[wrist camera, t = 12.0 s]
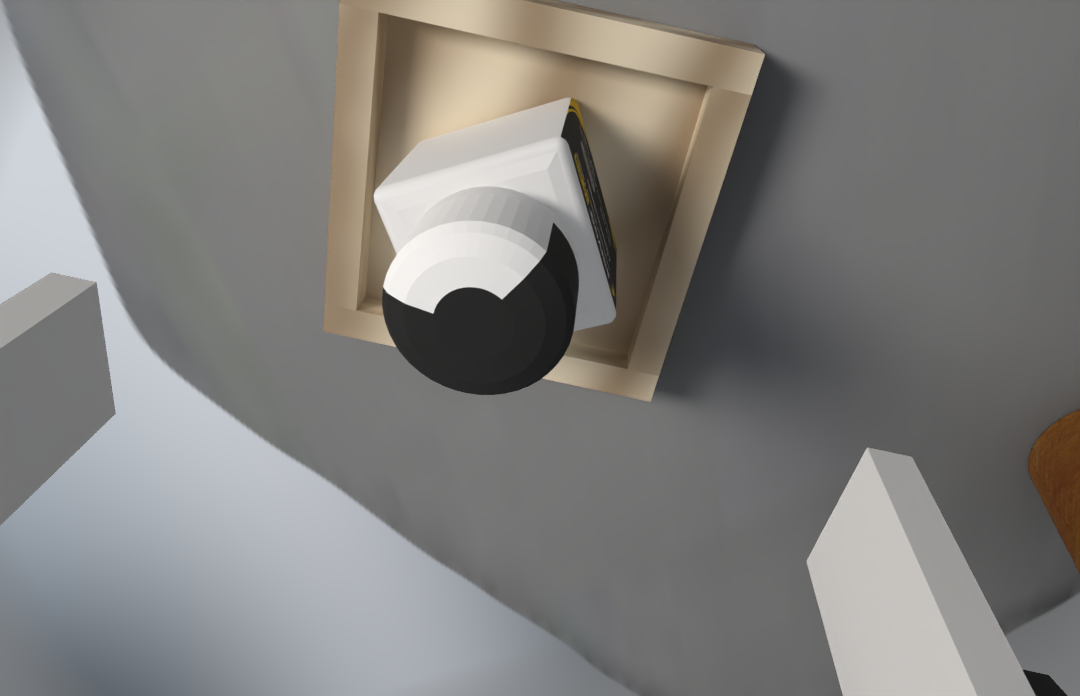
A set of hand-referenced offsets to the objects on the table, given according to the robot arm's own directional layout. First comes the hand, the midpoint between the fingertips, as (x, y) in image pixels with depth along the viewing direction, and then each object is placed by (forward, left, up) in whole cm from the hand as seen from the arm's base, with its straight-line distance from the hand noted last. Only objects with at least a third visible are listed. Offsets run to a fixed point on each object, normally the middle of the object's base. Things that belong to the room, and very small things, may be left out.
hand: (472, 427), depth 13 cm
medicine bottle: (+1, +3, -21) cm, 22 cm away
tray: (+1, +3, -22) cm, 22 cm away
